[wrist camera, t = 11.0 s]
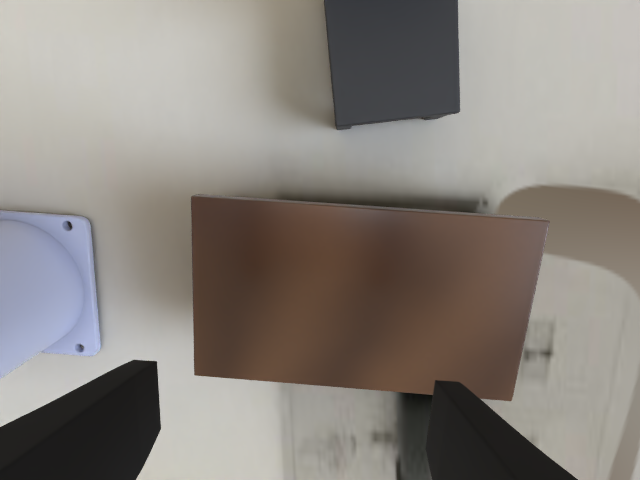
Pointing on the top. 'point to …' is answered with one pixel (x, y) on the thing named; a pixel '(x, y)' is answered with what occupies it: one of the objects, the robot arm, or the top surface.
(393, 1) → the chair
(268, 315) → the brown toy table
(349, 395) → the top surface
